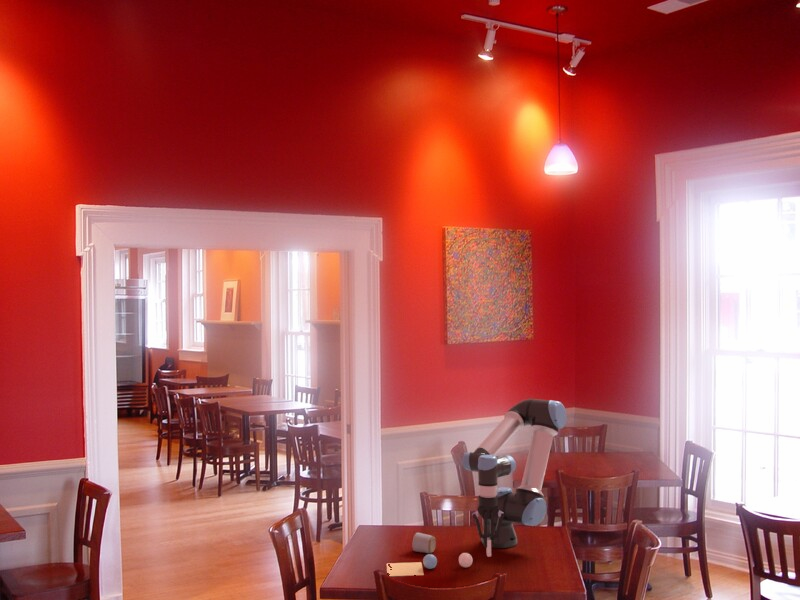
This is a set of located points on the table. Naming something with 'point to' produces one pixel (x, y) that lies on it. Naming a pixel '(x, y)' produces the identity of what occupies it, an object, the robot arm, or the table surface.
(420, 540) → the ceramic mug
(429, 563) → the object ball
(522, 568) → the table surface
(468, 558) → the cue ball
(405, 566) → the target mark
